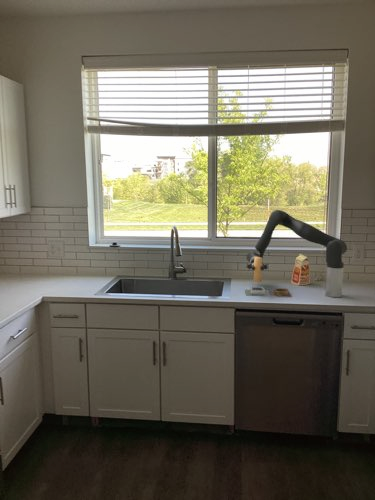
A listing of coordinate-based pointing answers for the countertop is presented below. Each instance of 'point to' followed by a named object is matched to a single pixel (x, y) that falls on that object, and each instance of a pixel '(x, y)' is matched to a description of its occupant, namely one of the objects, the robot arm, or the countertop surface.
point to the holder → (281, 292)
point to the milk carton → (301, 271)
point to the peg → (257, 269)
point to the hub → (257, 291)
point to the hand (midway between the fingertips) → (258, 268)
